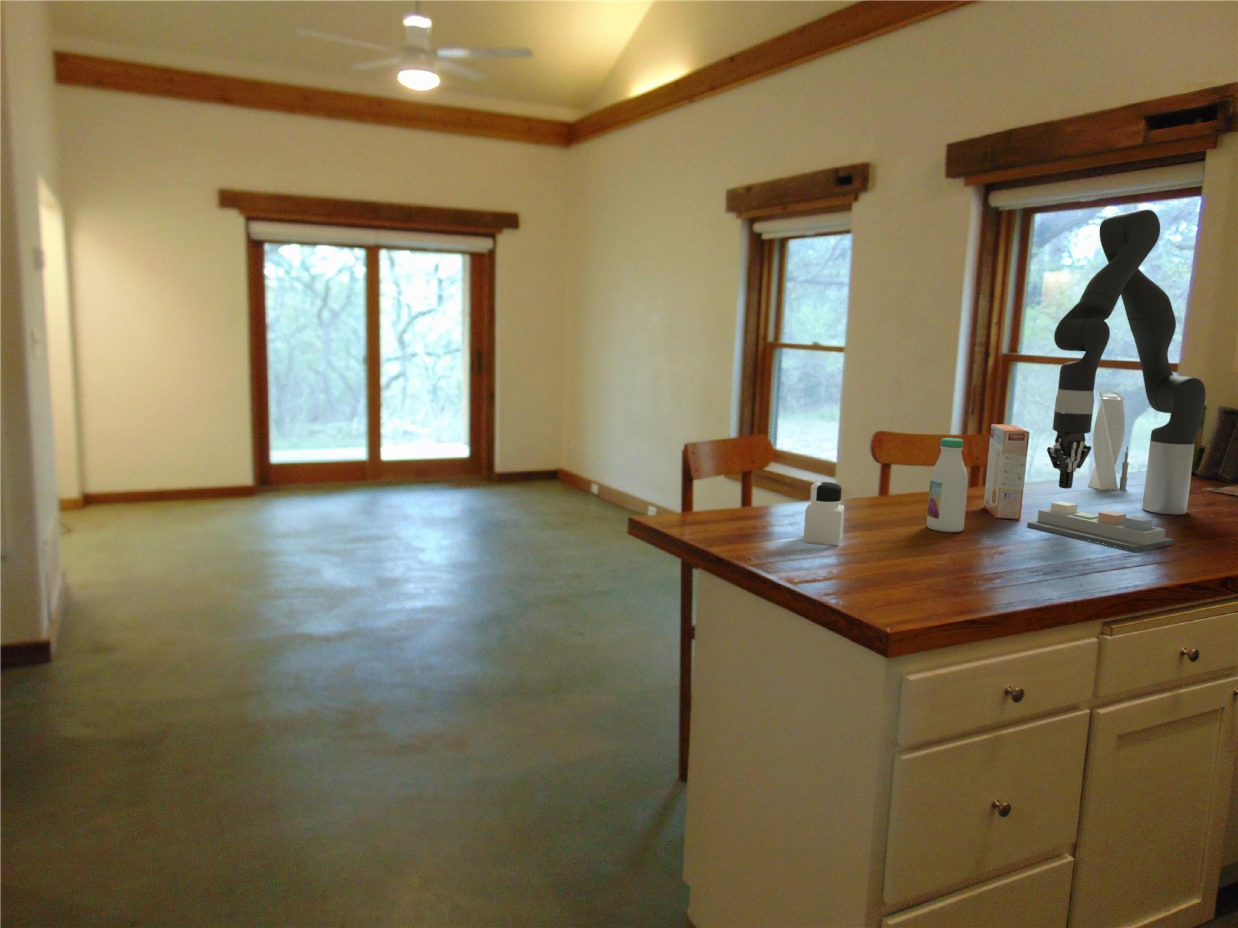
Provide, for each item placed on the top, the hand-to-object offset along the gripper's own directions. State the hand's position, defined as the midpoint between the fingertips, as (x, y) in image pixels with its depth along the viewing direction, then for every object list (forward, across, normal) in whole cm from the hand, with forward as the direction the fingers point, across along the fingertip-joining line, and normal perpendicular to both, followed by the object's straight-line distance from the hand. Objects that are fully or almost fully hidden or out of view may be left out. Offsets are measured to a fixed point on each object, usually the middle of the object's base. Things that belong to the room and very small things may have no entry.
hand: (1065, 487), depth 196 cm
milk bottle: (+9, +26, -10) cm, 29 cm away
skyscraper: (+9, -56, -24) cm, 62 cm away
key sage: (+8, 0, +6) cm, 10 cm away
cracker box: (+9, 0, -15) cm, 18 cm away
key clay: (+6, 0, +11) cm, 13 cm away
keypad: (+9, 0, +8) cm, 12 cm away
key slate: (+6, 0, +17) cm, 18 cm away
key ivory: (+6, 0, 0) cm, 6 cm away
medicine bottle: (+10, +58, -14) cm, 60 cm away
